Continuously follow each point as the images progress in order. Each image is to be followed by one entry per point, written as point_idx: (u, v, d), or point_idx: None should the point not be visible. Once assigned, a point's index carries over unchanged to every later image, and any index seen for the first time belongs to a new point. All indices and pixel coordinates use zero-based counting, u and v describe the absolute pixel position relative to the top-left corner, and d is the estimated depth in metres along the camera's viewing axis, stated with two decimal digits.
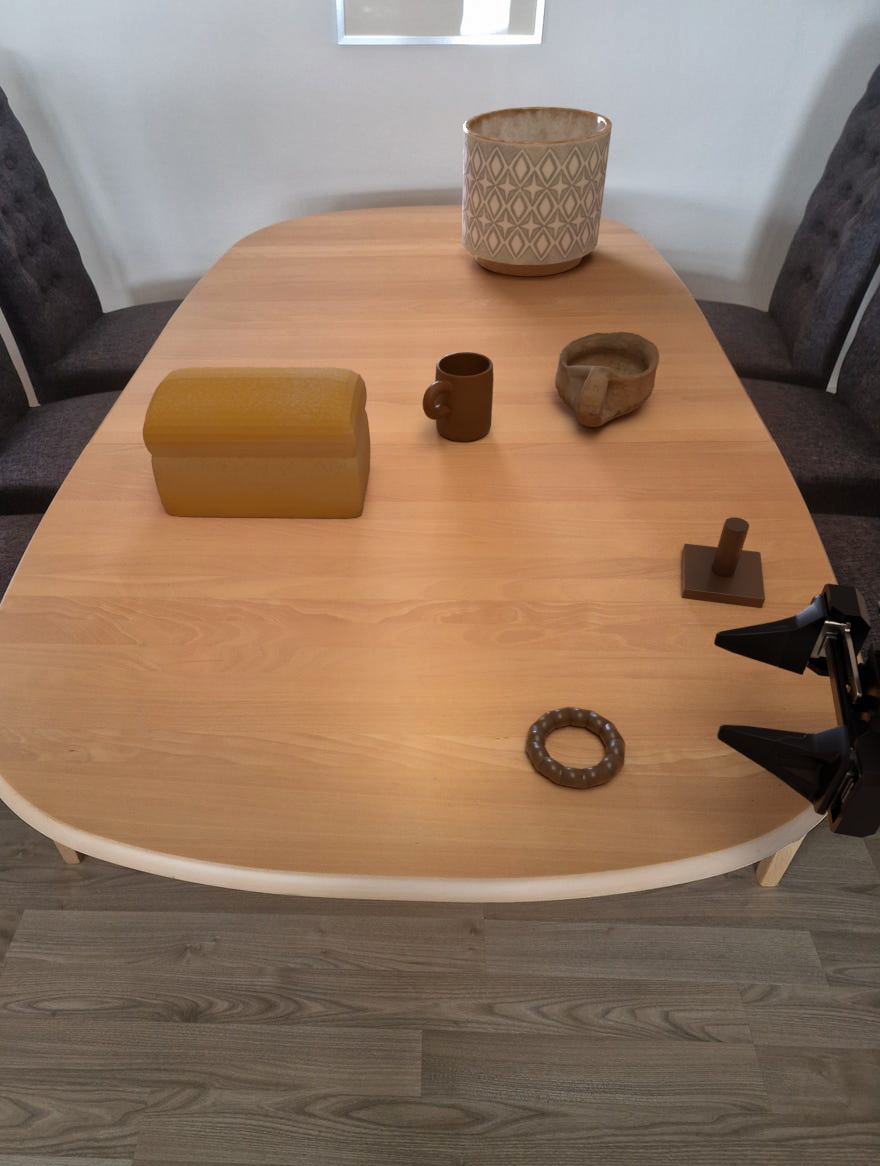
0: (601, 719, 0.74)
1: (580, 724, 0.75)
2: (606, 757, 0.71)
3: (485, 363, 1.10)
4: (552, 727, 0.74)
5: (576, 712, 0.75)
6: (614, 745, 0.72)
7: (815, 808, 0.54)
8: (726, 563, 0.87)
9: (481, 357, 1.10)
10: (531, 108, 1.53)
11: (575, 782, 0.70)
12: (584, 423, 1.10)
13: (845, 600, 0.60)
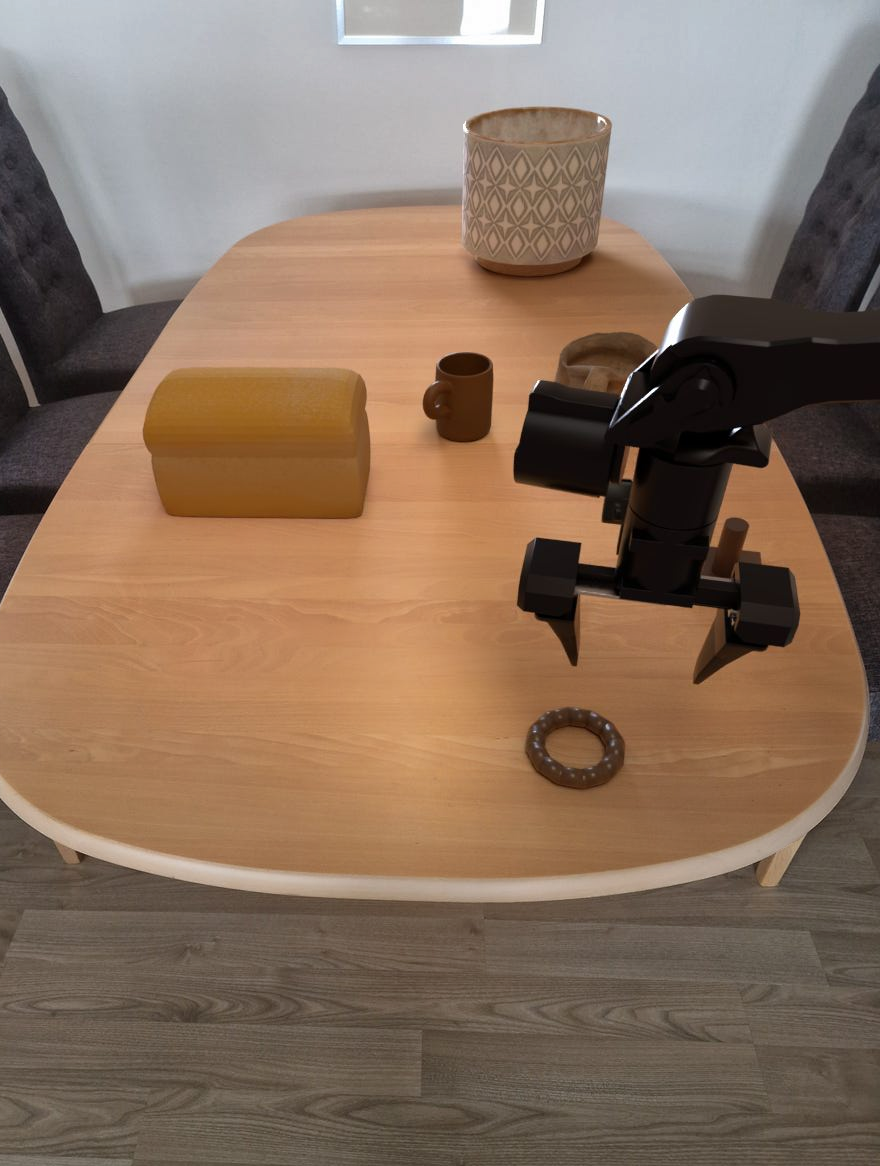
0: (601, 719, 0.74)
1: (580, 724, 0.75)
2: (606, 757, 0.71)
3: (485, 363, 1.10)
4: (552, 727, 0.74)
5: (576, 712, 0.75)
6: (614, 745, 0.72)
7: None
8: (726, 563, 0.87)
9: (481, 357, 1.10)
10: (531, 108, 1.53)
11: (575, 782, 0.70)
12: None
13: None
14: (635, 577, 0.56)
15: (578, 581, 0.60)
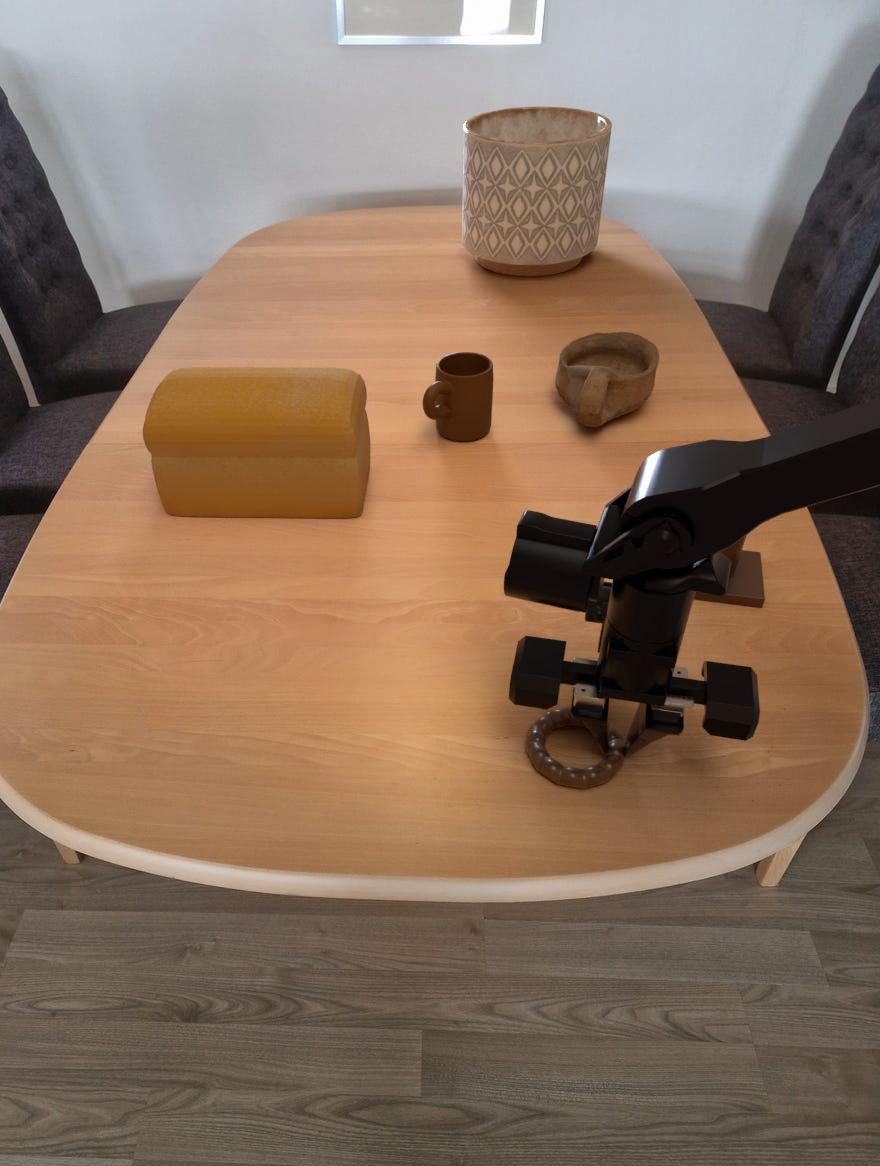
0: None
1: (580, 724, 0.75)
2: (606, 757, 0.71)
3: (485, 363, 1.10)
4: (552, 727, 0.74)
5: None
6: (614, 745, 0.72)
7: None
8: None
9: (481, 357, 1.10)
10: (531, 108, 1.53)
11: (575, 782, 0.70)
12: (584, 423, 1.10)
13: None
14: (613, 678, 0.63)
15: None
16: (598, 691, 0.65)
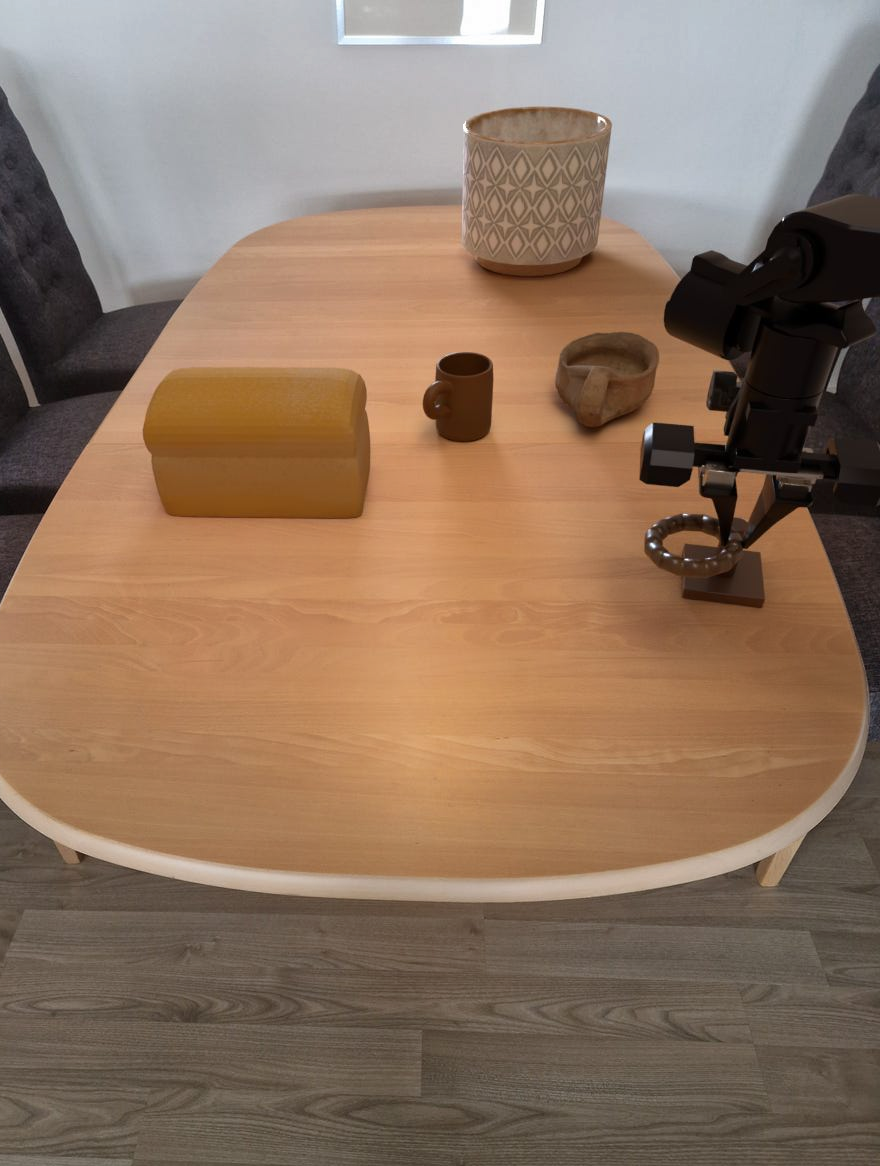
0: (715, 519, 0.76)
1: (694, 528, 0.77)
2: (725, 548, 0.73)
3: (485, 363, 1.10)
4: (667, 531, 0.77)
5: (689, 516, 0.77)
6: (731, 538, 0.74)
7: None
8: None
9: (481, 357, 1.10)
10: (531, 108, 1.53)
11: (698, 571, 0.72)
12: (584, 423, 1.10)
13: None
14: (748, 447, 0.65)
15: None
16: (729, 467, 0.68)
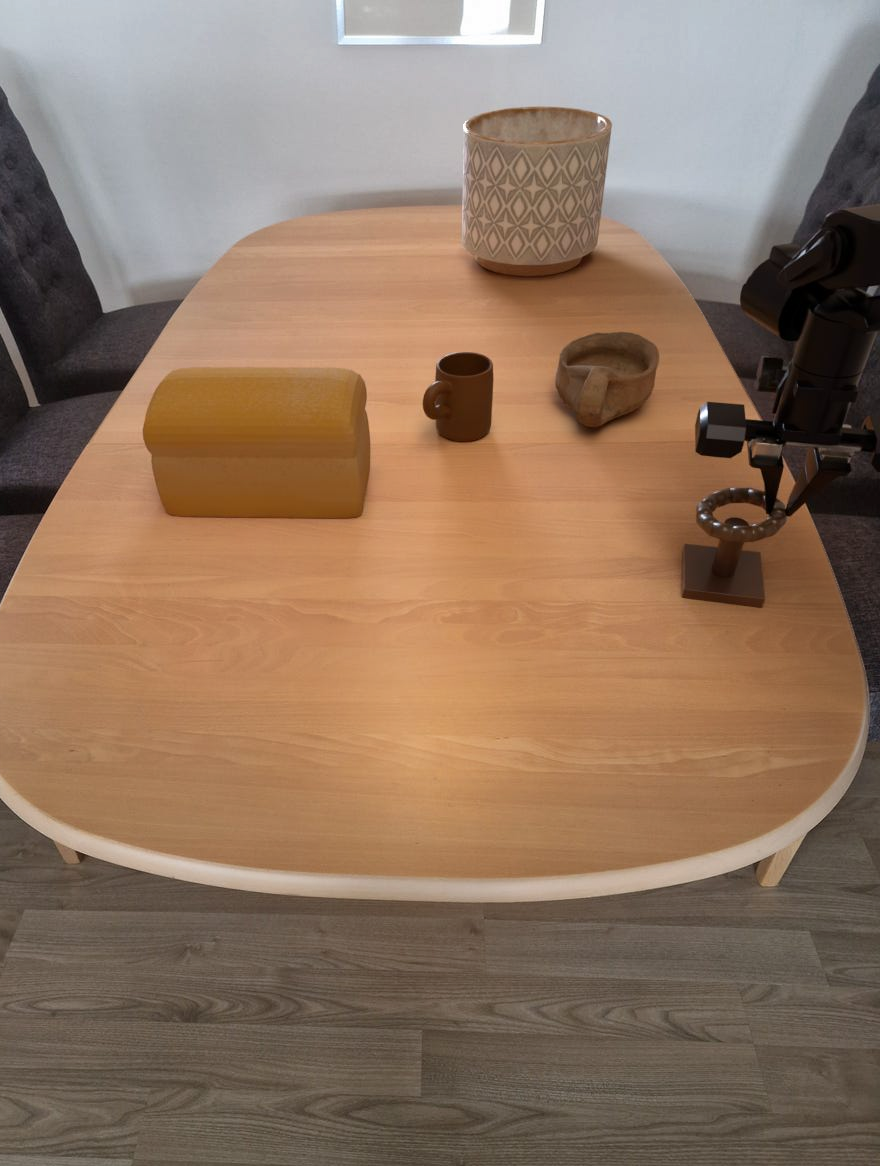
0: (760, 491, 0.85)
1: (741, 500, 0.86)
2: (770, 515, 0.82)
3: (485, 363, 1.10)
4: (716, 504, 0.85)
5: (736, 489, 0.86)
6: (776, 506, 0.82)
7: None
8: (726, 563, 0.87)
9: (481, 357, 1.10)
10: (531, 108, 1.53)
11: (746, 536, 0.81)
12: (584, 423, 1.10)
13: None
14: (795, 421, 0.74)
15: None
16: (776, 440, 0.76)
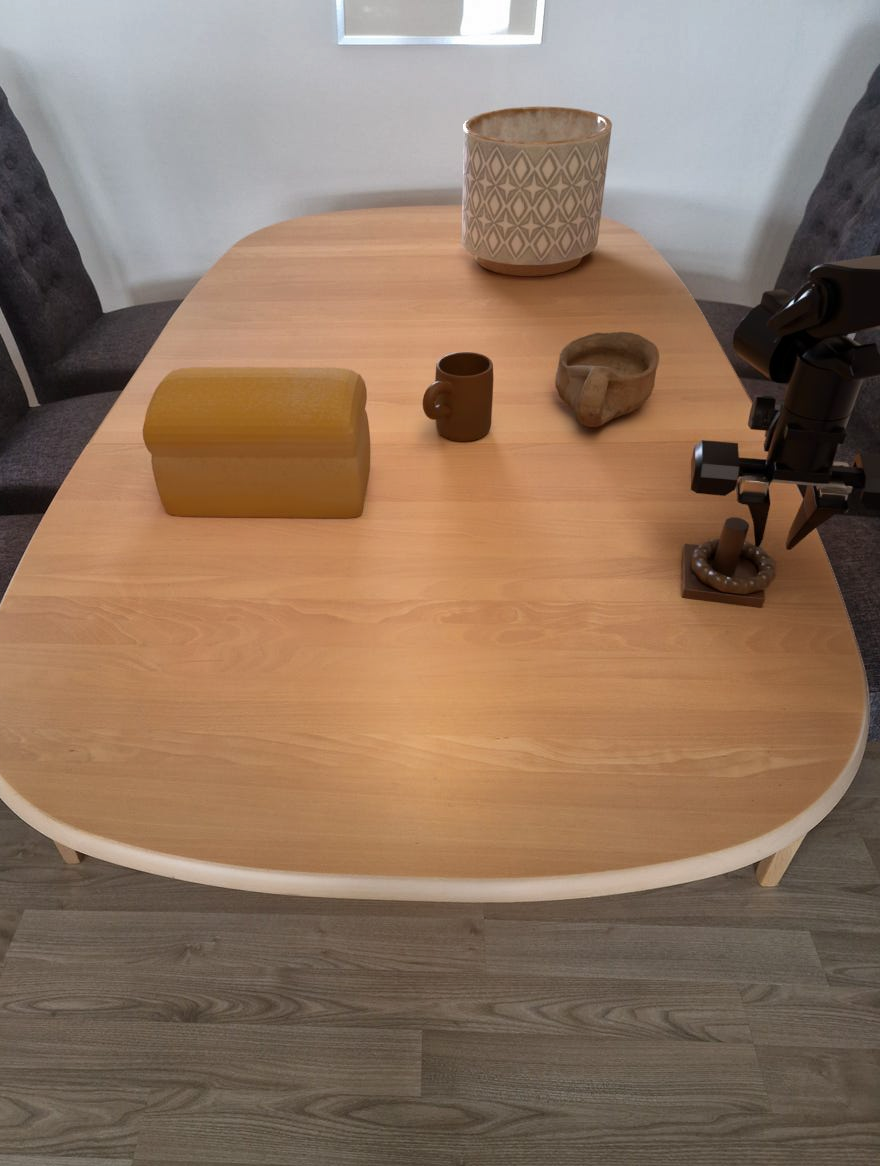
0: (753, 545, 0.89)
1: None
2: (761, 570, 0.86)
3: (485, 363, 1.10)
4: (711, 552, 0.89)
5: None
6: (767, 562, 0.87)
7: None
8: (726, 563, 0.87)
9: (481, 357, 1.10)
10: (531, 108, 1.53)
11: (738, 588, 0.85)
12: (584, 423, 1.10)
13: None
14: (786, 461, 0.76)
15: (771, 473, 0.79)
16: (763, 478, 0.79)
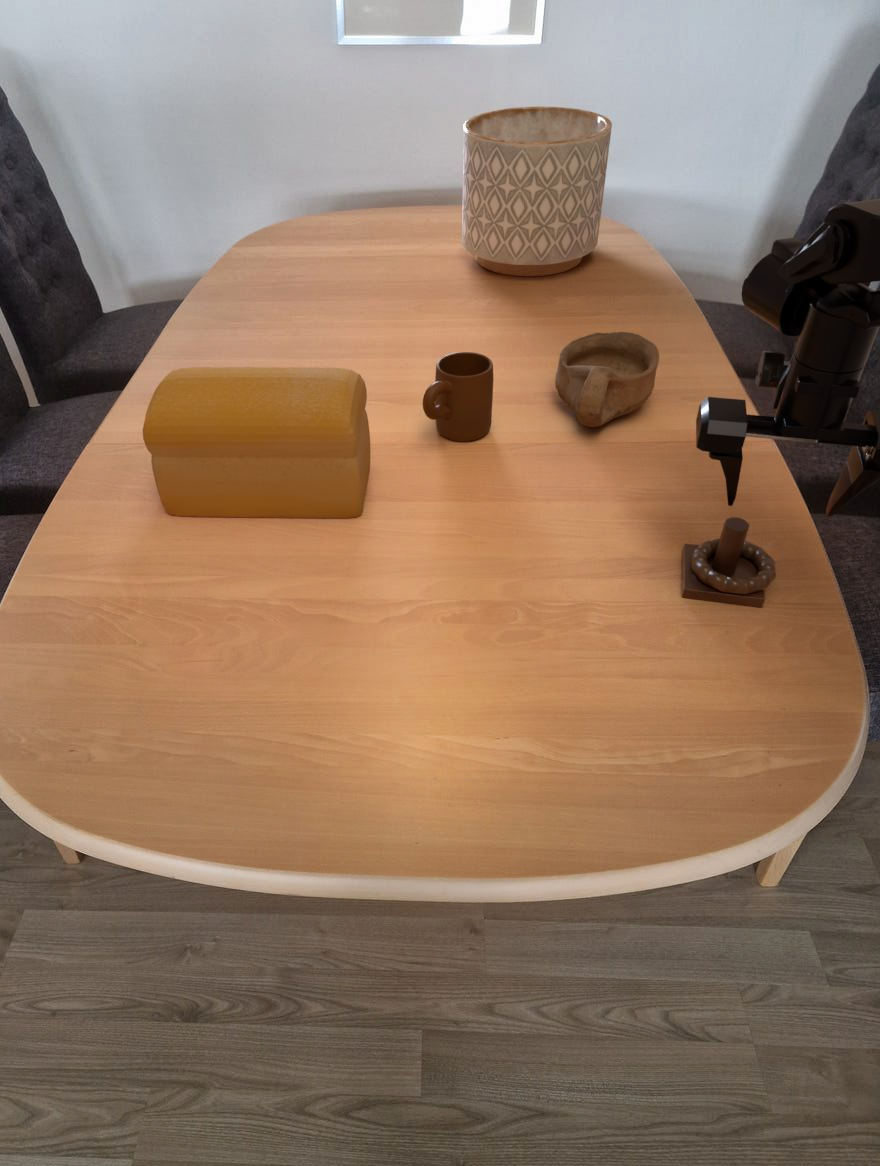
0: (753, 545, 0.89)
1: None
2: (761, 570, 0.86)
3: (485, 363, 1.10)
4: (711, 552, 0.89)
5: None
6: (767, 562, 0.87)
7: None
8: (726, 563, 0.87)
9: (481, 357, 1.10)
10: (531, 108, 1.53)
11: (738, 588, 0.85)
12: (584, 423, 1.10)
13: None
14: (796, 417, 0.73)
15: None
16: None
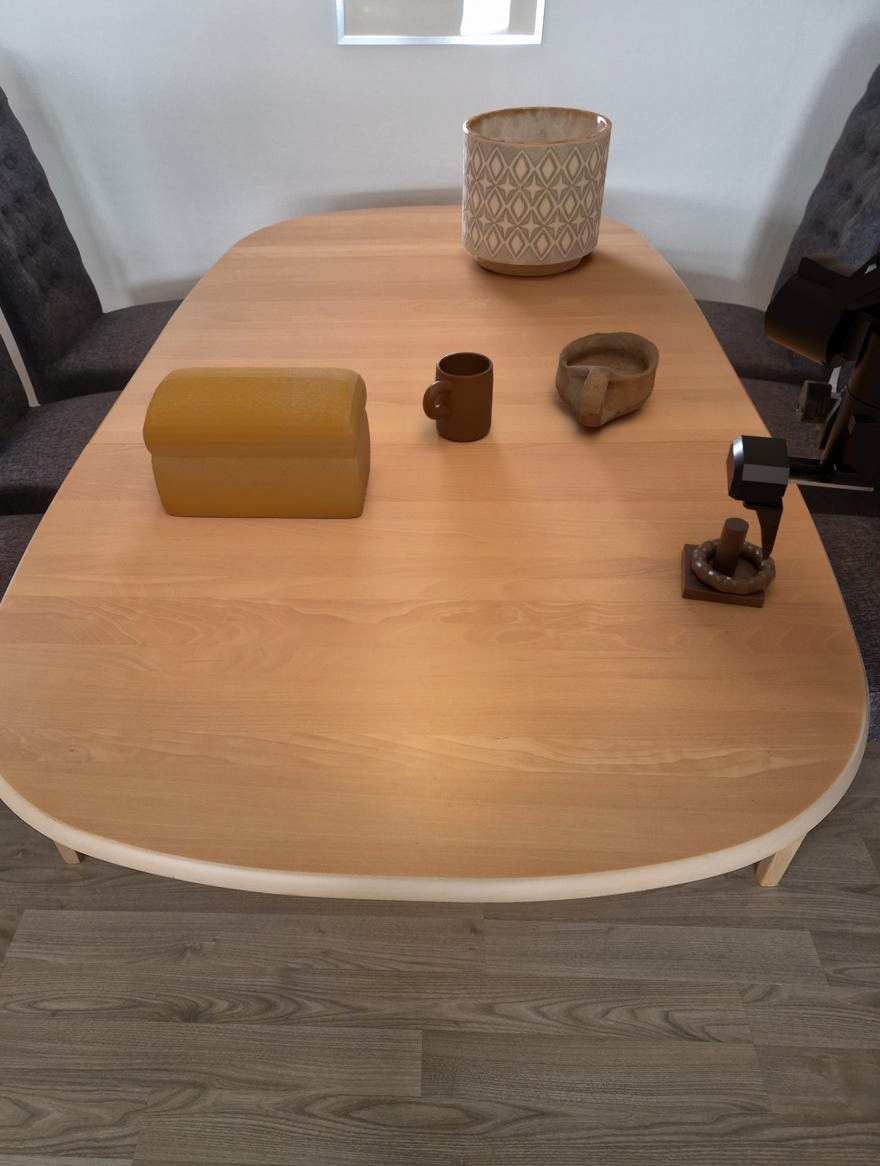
0: (753, 545, 0.89)
1: None
2: (761, 570, 0.86)
3: (485, 363, 1.10)
4: (711, 552, 0.89)
5: None
6: (767, 562, 0.87)
7: None
8: (726, 563, 0.87)
9: (481, 357, 1.10)
10: (531, 108, 1.53)
11: (738, 588, 0.85)
12: (584, 423, 1.10)
13: None
14: (849, 462, 0.62)
15: None
16: None
